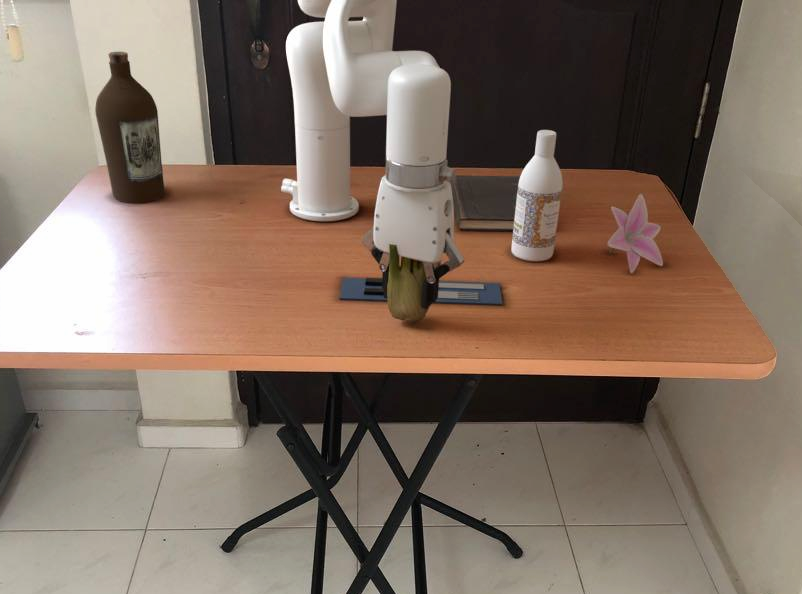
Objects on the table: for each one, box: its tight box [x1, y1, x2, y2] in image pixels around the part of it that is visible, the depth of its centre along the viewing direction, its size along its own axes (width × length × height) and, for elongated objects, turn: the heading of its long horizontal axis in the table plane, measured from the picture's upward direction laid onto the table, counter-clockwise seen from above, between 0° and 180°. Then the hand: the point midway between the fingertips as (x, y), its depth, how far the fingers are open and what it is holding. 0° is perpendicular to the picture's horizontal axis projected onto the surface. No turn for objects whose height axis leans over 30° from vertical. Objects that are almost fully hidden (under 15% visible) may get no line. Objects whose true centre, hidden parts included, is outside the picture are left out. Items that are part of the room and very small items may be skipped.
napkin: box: [339, 277, 503, 306], centre depth 125 cm, size 24×7×1 cm, turn 88°
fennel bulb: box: [387, 243, 430, 323], centre depth 113 cm, size 6×5×12 cm
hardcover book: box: [448, 174, 521, 233], centre depth 155 cm, size 16×23×2 cm
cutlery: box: [364, 277, 484, 300], centre depth 125 cm, size 18×5×1 cm, turn 88°
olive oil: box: [94, 51, 165, 204], centre depth 149 cm, size 11×11×25 cm
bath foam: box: [510, 129, 564, 262], centre depth 132 cm, size 7×7×20 cm
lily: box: [607, 193, 664, 274], centre depth 135 cm, size 12×12×10 cm
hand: (409, 298), depth 115 cm, fingers closed on fennel bulb, 5 cm apart
